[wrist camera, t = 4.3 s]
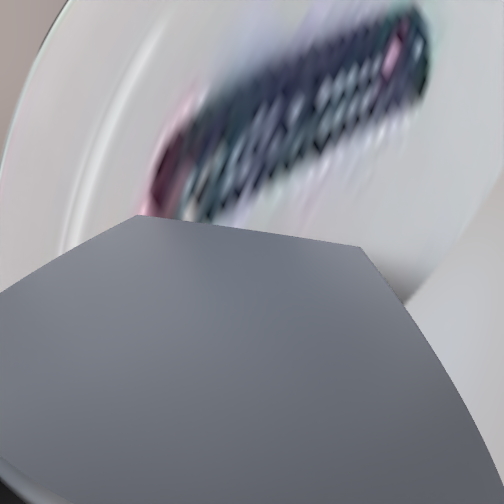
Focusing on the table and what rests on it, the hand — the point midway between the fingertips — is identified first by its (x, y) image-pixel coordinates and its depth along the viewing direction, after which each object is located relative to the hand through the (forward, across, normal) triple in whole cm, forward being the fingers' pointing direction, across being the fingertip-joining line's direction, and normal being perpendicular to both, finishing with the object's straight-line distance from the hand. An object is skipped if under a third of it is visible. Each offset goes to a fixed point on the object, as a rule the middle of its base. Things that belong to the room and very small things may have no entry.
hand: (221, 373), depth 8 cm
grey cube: (+3, 0, 0) cm, 3 cm away
